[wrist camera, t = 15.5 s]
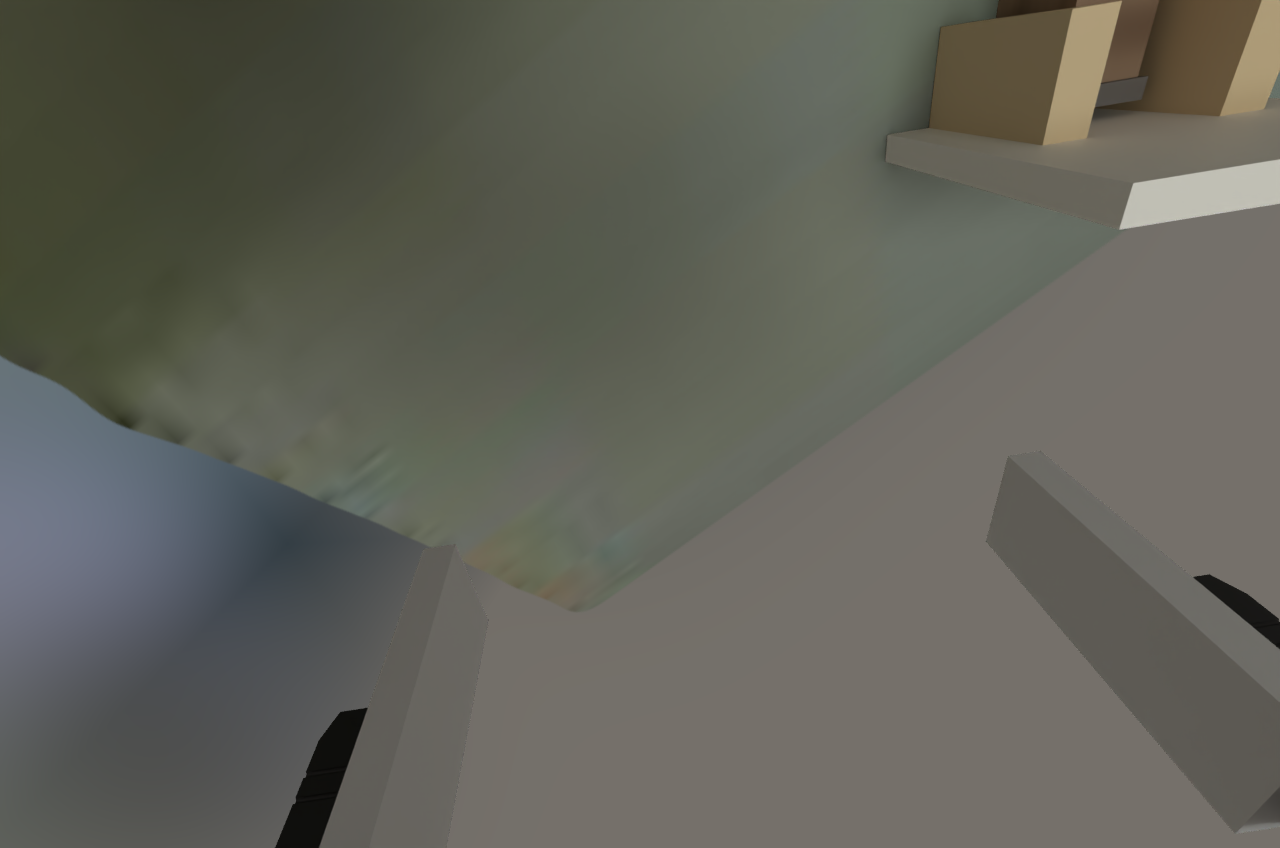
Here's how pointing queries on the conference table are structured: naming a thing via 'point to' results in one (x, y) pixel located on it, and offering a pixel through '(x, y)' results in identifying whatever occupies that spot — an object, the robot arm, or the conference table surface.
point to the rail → (1125, 45)
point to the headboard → (1109, 113)
